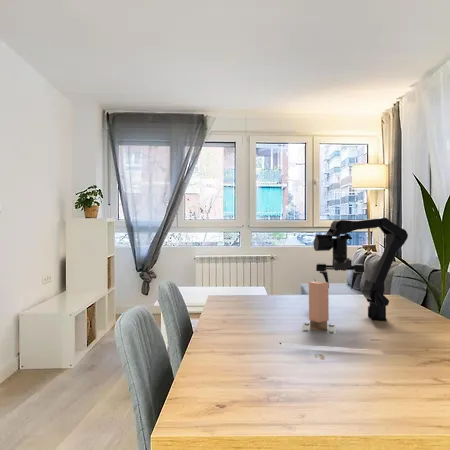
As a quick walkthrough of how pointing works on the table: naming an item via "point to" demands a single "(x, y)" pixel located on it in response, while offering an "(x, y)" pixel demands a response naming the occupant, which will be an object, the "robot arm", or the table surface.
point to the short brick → (318, 325)
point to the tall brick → (318, 301)
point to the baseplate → (330, 330)
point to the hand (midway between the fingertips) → (339, 288)
